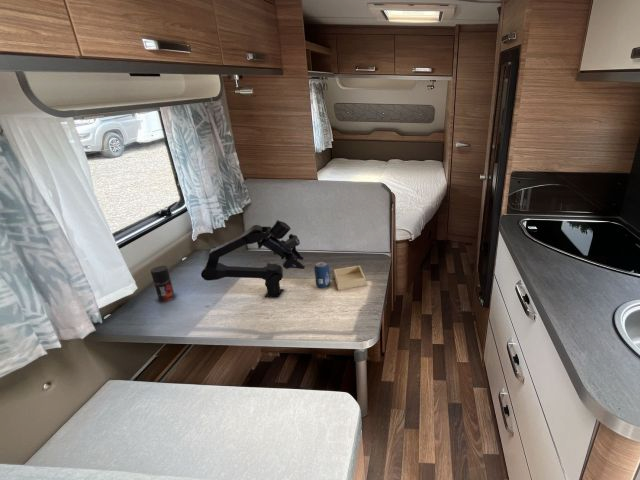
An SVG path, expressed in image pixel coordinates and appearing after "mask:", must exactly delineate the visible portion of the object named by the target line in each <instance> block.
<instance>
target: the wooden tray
mask: <svg viewBox="0 0 640 480" xmlns="http://www.w3.org/2000/svg"><path fill="white" fill-rule="evenodd" d="M333 277H334V280H335V284H336V287H337V290H338V291H341V290H345V289H346V290H347V289H352V288H357V287H363V286H366V285H367V281H366V276H365V274H364V271H363V269H362V267H361V265H353V266H348V267H347V266H346V267H341V268H335V269H333Z"/></svg>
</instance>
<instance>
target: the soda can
mask: <svg viewBox="0 0 640 480" xmlns="http://www.w3.org/2000/svg"><path fill="white" fill-rule="evenodd" d="M314 278H315V279H314V280H315V285H316V287H317V288H318V289H322V290H323V289H327V288H329V286H330V285H331V272H330V265H329V263H328V262H327V261H325V260H321V261H318V262H316V263H315V265H314Z"/></svg>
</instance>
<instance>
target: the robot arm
mask: <svg viewBox="0 0 640 480" xmlns="http://www.w3.org/2000/svg"><path fill="white" fill-rule="evenodd" d="M289 231H291V227H290V225H289V224H288V223H286V222H284V221H281V220H279V219H277V220H276V221H275V222H274V223H273V225H272V226H261V225H259V224H254V225H252V226H251V227H249V228H248V229H247V230H246V231H244V232H243V233H242V234H240V235H238V236H236V237H235V238H233V239H231V240H229V241H226V242H224V243H222V244H220V245H217V246H216V247H213V248H211V250H210V252H209V253H208V259H207V263H205V264H204V265H203V268H202V270H201V272H200V277H201V279H203V280H204V281H207V282H208V281H218V280H221V279H224V278H238V279H239V278H241V279H242V278H243V279H261V280H264V281H265V282H264V286H265V287H266V294H264V298H274V299H275V298H277V299H279V298H280V296H281V295H282V293H283V292H284V289H283V288H281V283H280V282H281V281H282V279H283V277H284V269H286V270H288V269H289V270H290V269H298V270H299V269H300V270H304V269H305V268H306V266H305V265H304V264H302V263H301V262H300V261H303V260H305V259H304V256H302V255H301V254H300V252H299V251H298V250H297V247H298V246H299V245H301V240H300V238H299V237H298V236H297V235H296V234H293V233H290V234H289V235H288V238H287V239H286V240H284V239H283V238H284V237H285V236H286V235H287V234H288V233H289ZM252 244H257V248H258V249H259V250H260V249H261V248H262V247H264V248H266V249H267V250H270V251H271V252H272V254H273V255H277V256H279V257H280V260H282V266H281V264H277V263H270V262H269V263H268V262H267V263H266V266H263V267H256V266H255V267H254V266H252V267H251V266H231V265H230V266H229V265H226V264H223V263H222V262H220V261H219V260H220V258H221V257H223V256H225V255H227V254H229V253H232V252H233V251H236V250H238V249H239V248H241V247H244V246H246V245H252ZM299 260H300V261H299ZM283 268H284V269H283Z"/></svg>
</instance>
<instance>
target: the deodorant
mask: <svg viewBox="0 0 640 480" xmlns="http://www.w3.org/2000/svg"><path fill="white" fill-rule="evenodd" d="M150 274H151V277H152V282H153V284H154V287H155V292H156V295H157V298H158V301H159V302H161V303H166V302H169V301H172V300H173V299H174V298H175V297H176V295H175V292H174V287H173V283H172V280H171V277H170V276H171V275H170V273H169V269H168V266H167V265H159V266H155V267H154V268H152V269H150Z"/></svg>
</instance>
